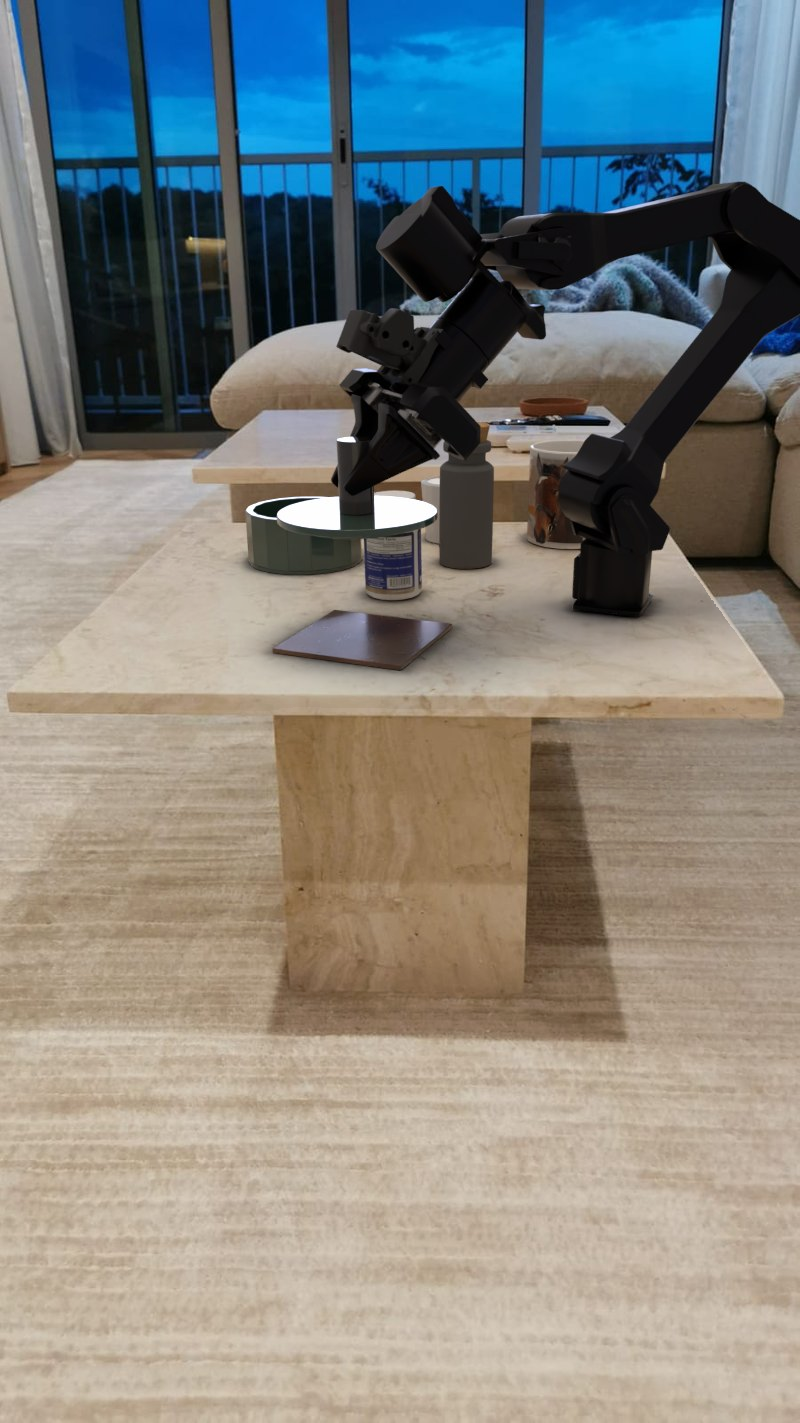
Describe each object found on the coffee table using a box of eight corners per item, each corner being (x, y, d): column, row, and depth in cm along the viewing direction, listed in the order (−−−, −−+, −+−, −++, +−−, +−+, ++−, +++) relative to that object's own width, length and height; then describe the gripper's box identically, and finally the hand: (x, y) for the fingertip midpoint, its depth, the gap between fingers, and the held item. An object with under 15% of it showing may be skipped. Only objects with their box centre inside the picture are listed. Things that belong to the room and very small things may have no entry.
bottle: (493, 569, 116) (496, 427, 111) (439, 569, 117) (440, 428, 111) (490, 555, 122) (493, 420, 116) (438, 556, 122) (439, 420, 116)
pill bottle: (384, 582, 112) (382, 487, 108) (432, 590, 109) (432, 492, 105) (354, 596, 107) (351, 497, 104) (403, 604, 105) (402, 502, 101)
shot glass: (474, 531, 133) (474, 474, 130) (481, 544, 127) (482, 485, 124) (418, 532, 133) (418, 475, 130) (423, 546, 126) (423, 486, 124)
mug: (593, 527, 134) (599, 437, 130) (637, 550, 123) (645, 452, 119) (514, 533, 132) (517, 441, 127) (552, 557, 121) (557, 457, 117)
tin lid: (389, 502, 100) (387, 423, 97) (468, 530, 89) (468, 442, 86) (253, 520, 94) (247, 436, 91) (319, 553, 83) (314, 458, 80)
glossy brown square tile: (452, 627, 98) (452, 623, 98) (401, 670, 88) (401, 666, 87) (334, 613, 102) (334, 609, 102) (272, 652, 92) (272, 648, 92)
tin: (379, 551, 124) (378, 501, 122) (331, 579, 113) (329, 524, 111) (283, 542, 129) (281, 493, 126) (228, 568, 118) (224, 515, 116)
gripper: (358, 270, 93) (242, 410, 94) (443, 270, 77) (303, 439, 77) (442, 361, 98) (332, 492, 99) (537, 379, 82) (406, 535, 83)
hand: (341, 488), depth 90 cm, fingers closed on tin lid, 3 cm apart
